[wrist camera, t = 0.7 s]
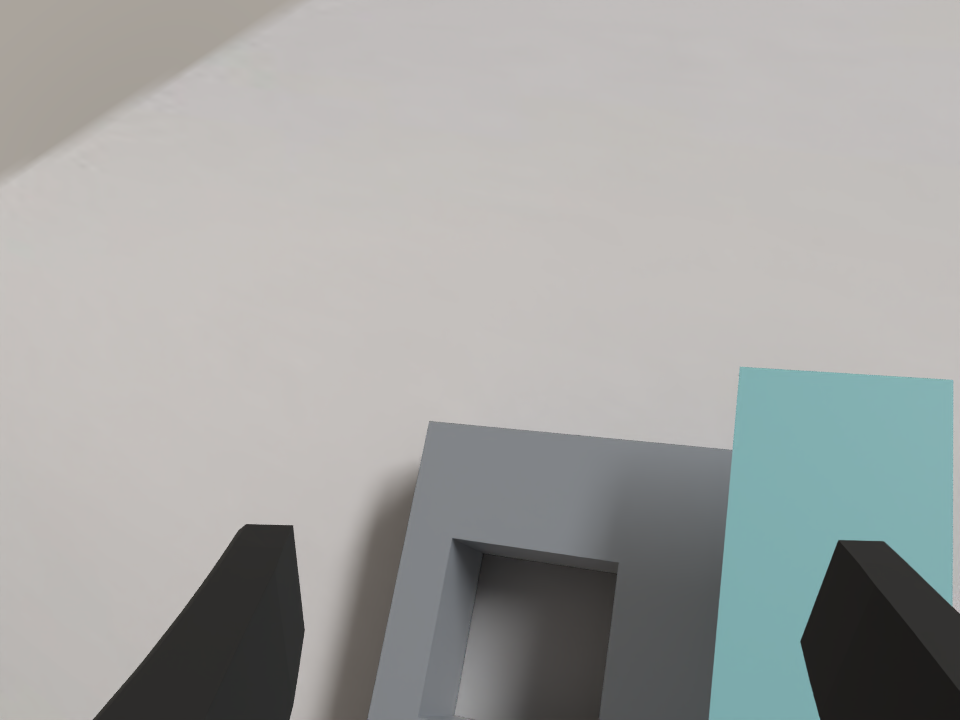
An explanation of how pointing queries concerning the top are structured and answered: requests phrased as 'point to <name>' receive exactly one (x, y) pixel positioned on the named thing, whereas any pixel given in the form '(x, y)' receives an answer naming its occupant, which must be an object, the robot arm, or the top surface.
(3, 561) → the top surface
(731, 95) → the top surface
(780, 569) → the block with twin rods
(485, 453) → the socket block
